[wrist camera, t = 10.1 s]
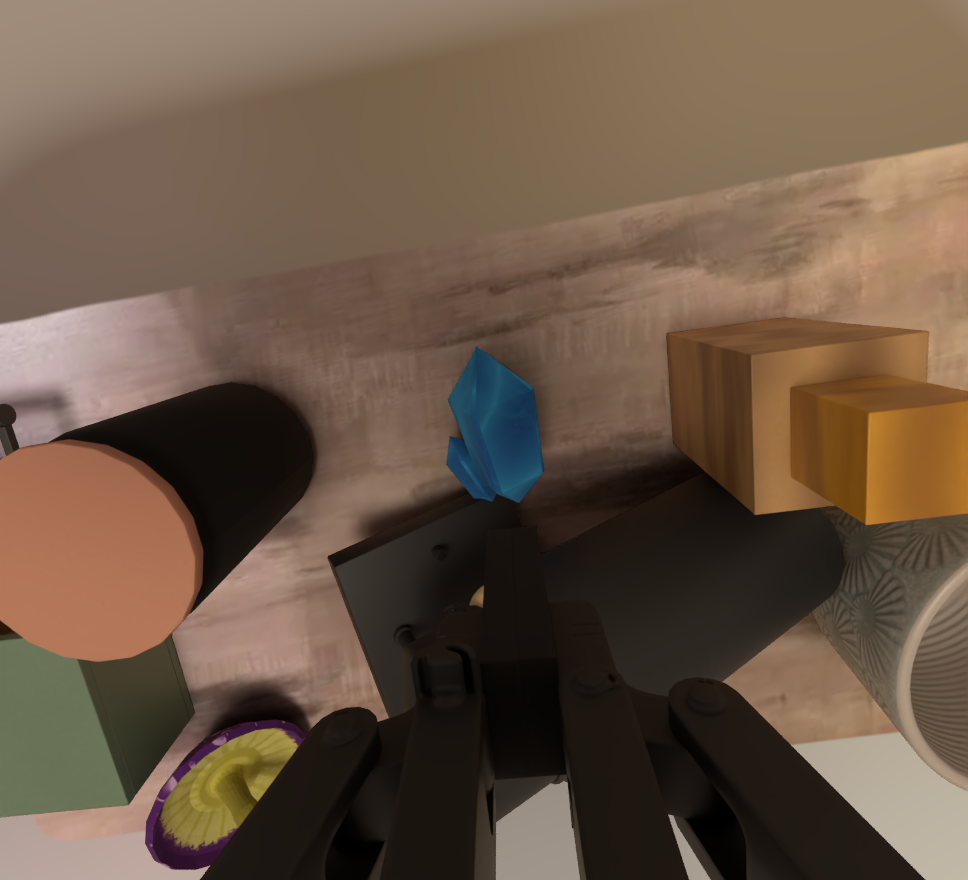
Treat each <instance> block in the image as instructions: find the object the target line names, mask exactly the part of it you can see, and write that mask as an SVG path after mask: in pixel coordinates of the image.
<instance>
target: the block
mask: <svg viewBox="0 0 968 880" xmlns="http://www.w3.org/2000/svg"><path fill="white" fill-rule="evenodd" d="M791 477H792V478H793V479H795V480H796V481H798V482H799V483H801V484H802V485H804V486H806V487H807V488H809V489H810V490H812V491H813V492H815V493H817V494H818V495H820V496H821V497H823V498H825V499H826V500H828V501H829V502H831V503H832V504H834V505H836V506H837V507H839V508H840V509H842V510H843V511H845V512H847V513H848V514H850V515H851V516H853V517H854V518H856V519H858V520H859V521H861V522H862V523H864V524H865V525H872V524H881V523H889V522H898V521H907V520H915V519H924V518H933V517H941V516H950V515H959V514H967V513H968V391H963V390H958V389H953V388H949V387H944V386H939V385H935V384H930V383H925V382H921V381H916V380H911V379H907V378H902V377H897V376H893V375H881V376H873V377H865V378H858V379H850V380H842V381H835V382H827V383H819V384H811V385H804V386H796V387H791Z"/></svg>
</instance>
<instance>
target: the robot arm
mask: <svg viewBox="0 0 968 880" xmlns="http://www.w3.org/2000/svg"><path fill="white" fill-rule="evenodd" d="M410 665H411V671H412V677H413V683H414V689H415V695H416V703H415V706H414V707H413V708H411V709H409V710H408V711H406V712H404V713H402V714H400V715H397V716H395V717H392V718H389V719H386V720H382V721H379V722H377V718H376V715H374V714H373V713H372V712H371V711H370V710H368V709H364V708H361V707H351V708H344V709H341V710H338V711H334V712H332V713H331V714H329V715H327V716H325V717H324V718H322V719H321V720H320V721H319V722H318V723H317V724H316V725H315V726H314V727H313V728H312V729H311V731H310V732H309V733H308V735H307V736H306V737H305V739H304V740H303V741H302V743H301V744H300V745H299V747H298V748H297V749H296V751H295V752H294V753H293V755H292V756H291V758H290V759H289V760H288V762H287V763H286V764H285V766H284V767H283V768H282V770H281V771H280V772H279V774H278V775H277V776H276V778H275V779H274V780H273V782H272V783H271V785H270V786H269V787H268V789H267V790H266V791H265V793H264V794H263V795H262V797H261V798H260V799H259V801H258V802H257V803H256V805H255V806H254V807H253V809H252V810H251V812H250V813H249V814H248V816H247V817H246V818H245V820H244V821H243V822H242V824H241V825H240V826H239V828H238V829H237V830H236V832H235V833H234V834H233V836H232V837H231V839H230V840H229V841H228V843H227V844H226V845H225V847H224V848H223V849H222V851H221V852H220V853H219V855H218V856H217V857H216V859H215V860H214V861H213V863H212V864H211V866H210V867H209V868H208V870H207V871H206V872H205V874H204V875H203V877H202V878H201V879H200V880H496V798H495V791H494V783H493V770H494V777H495V780H500V779H514V778H528V777H541V776H555V775H567V780H568V790H569V800H570V811H571V821H572V828H573V829H574V837H575V844H576V852H577V859H578V867H579V874H580V880H689V879H688V875H687V872H686V869H685V866H684V863H683V860H682V857H681V853H680V850H679V847H678V844H677V841H676V838H675V835H674V832H673V828H672V825H671V822H670V819H669V816H668V814H669V815H674V818H675V821H676V823H677V826H678V828H679V829H680V831H681V832H682V834H683V836H684V837H685V839H686V840H687V842H688V844H689V845H690V847H691V848H692V850H693V852H694V853H695V855H696V857H697V858H698V860H699V861H700V863H701V865H702V866H703V868H704V869H705V871H706V872H707V874H708V876H709V877H710V879H711V880H925V879H924V878H923V877H922V876H921V875H920V874H919V873H918V872H917V871H916V870H915V869H914V868H913V867H912V866H911V865H910V864H909V863H908V862H907V861H906V860H905V859H904V858H903V857H902V856H901V855H900V854H899V853H898V852H897V851H896V850H895V849H894V848H893V847H892V846H891V845H890V844H889V843H888V842H887V841H886V840H885V839H884V838H883V837H882V836H881V835H880V834H879V833H878V832H877V831H876V830H875V829H874V828H873V827H872V826H871V825H870V824H869V823H868V822H867V821H866V820H865V819H864V818H863V817H862V816H861V815H860V814H859V813H858V812H857V811H856V810H855V809H854V808H853V807H852V806H851V805H850V804H849V803H848V802H847V801H846V800H845V799H844V798H843V797H842V796H841V795H840V794H839V793H838V792H837V791H836V790H835V789H834V788H833V787H832V786H831V785H830V784H829V783H828V782H827V781H826V780H825V779H824V778H823V777H822V776H821V775H820V774H819V773H818V772H817V771H816V770H815V769H814V768H813V767H812V766H811V765H810V764H809V763H808V762H807V761H806V760H805V759H804V758H803V757H802V756H801V755H800V754H799V753H798V752H797V751H796V750H795V749H794V748H793V747H792V746H791V745H790V744H789V743H788V742H787V741H786V740H785V739H784V738H783V737H782V736H781V735H780V734H779V733H778V732H777V731H776V730H775V729H774V728H773V727H772V726H771V725H770V724H769V723H768V722H767V721H766V720H765V719H764V718H763V717H762V716H761V715H760V714H759V713H758V712H757V711H756V710H755V709H754V708H753V707H752V706H751V705H750V704H749V703H748V702H747V701H746V700H745V699H744V698H743V697H742V696H741V695H740V694H739V693H738V692H737V691H736V690H734V689H733V688H732V687H730V686H729V685H727V684H725V683H723V682H720V681H717V680H715V679H709V678H702V677H696V678H687V679H684V680H682V681H679V682H677V683H675V684H674V686H673V687H672V688H671V689H670V690H669V696H662V695H656V694H650V693H646V692H642V691H640V690H637V689H635V688H633V687H631V686H629V685H628V684H626V682H625V680H624V679H623V677H622V675H621V674H620V673H618V672H617V671H616V667H615V664H614V661H613V658H612V655H611V651H610V648H609V645H608V642H607V638H606V635H605V633H604V629H603V625H602V623H601V619H600V616H599V613H598V609H597V608H595V607H594V606H593V605H592V604H591V603H590V602H589V601H587V600H586V599H583V600H572V601H560V602H549V603H548V598H547V592H546V586H545V579H544V573H543V566H542V560H541V554H540V547H539V541H538V534H537V528H536V526H529V527H519V528H508V529H498V530H488V531H487V538H486V556H485V574H484V592H483V609H482V610H476V611H465V612H454V613H448V614H447V615H446V617H445V618H444V619H443V620H442V621H441V622H440V624H439V625H438V630H437V636H436V641H435V644H432V645H430V646H428V647H425V648H423V649H422V650H421V651H419V652H418V653H417V654H416V655H415V656H414V657H413V659H412V661H411V663H410Z"/></svg>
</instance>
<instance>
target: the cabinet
mask: <svg viewBox="0 0 968 880" xmlns="http://www.w3.org/2000/svg"><path fill="white" fill-rule="evenodd" d="M194 714H195V713H194V710H193V706H192V703H191V700H190V696H189V693H188V690H187V687H186V683H185V680H184V677H183V673H182V670H181V667H180V664H179V660H178V657H177V654H176V650H175V647H174V644H173V641H172V637H171V634H170V635H169V636H168V637H167V638H166V639H165V640H164V641H163V643H161V644H158V645H156V646H154V647H152V648H150V649H148V650H146V651H144V652H142V653H140V654H138V655H136V656H134V657H130V658H123V659H116V660H108V661H101V662H96V661H89V660H82V659H76V658H69V657H63V656H60V655H58V654H56V653H53V652H51V651H49V650H46V649H44V648H42V647H39V646H37V645H34V644H32V643H30V642H28V641H27V640H25V639H24V638H23V637H22V636H20V635H19V634H18V633H16V634H8V635H0V817H9V816H19V815H30V814H41V813H52V812H62V811H73V810H83V809H94V808H104V807H115V806H125V805H129V804H130V802H131V801H132V800H133V798H134V797H135V795H136V794H137V793H138V791H139V790H140V788H141V787H142V786H143V784H144V783H145V781H146V780H147V779H148V777H149V776H150V775H151V773H152V772H153V770H154V769H155V768H156V766H157V765H158V763H159V762H160V761H161V759H162V758H163V757H164V755H165V754H166V752H167V751H168V750H169V748H170V747H171V745H172V744H173V743H174V741H175V740H176V739H177V737H178V736H179V734H180V733H181V732H182V730H183V729H184V727H185V726H186V725H187V723H188V722H189V720H190V719H191V718H192V717H193V715H194Z"/></svg>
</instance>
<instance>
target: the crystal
mask: <svg viewBox="0 0 968 880" xmlns="http://www.w3.org/2000/svg"><path fill="white" fill-rule="evenodd" d="M448 402H449V404H450V407H451V409H452V412H453V414H454V417H455V419H456V421H457V424H458V426H459V429H460V431H461V434H462V436H463V439H464V440H461V439H457V438H454V437H450V438H449V447H448V455H447V464H446V465H447V466H448V467H449V468H450V470H451V471H452V472H453V473H454V475H455V476H456V477H457V478H458V479H459V481H460V482H461V483H462V484H463V486H464V487H465V488H466V489H467V490H468V492H469V493H470V494H471V495H472V497H473V498H475V499H486V500H489V501H493V500H494V498H495V495H496V494H499V495H501V496H504V497H506V498H508V499H511V500H513V501H515V502H518V503H519V502H520V501H521V500H522V499H523V497H524V496H525V495H526V494H527V492H528V491H529V490H530V489H531V487H532V486H533V485H534V484H535V482H536V481H537V480H538V479H539V477H540V476H541V475H542V473H543V472H544V465H543V457H542V449H541V442H540V434H539V426H538V419H537V411H536V403H535V396H534V388H533V387H532V386H531V385H529V384H528V383H527V382H525V381H524V380H523V379H521V378H520V377H518V376H517V375H516V374H514V373H513V372H512V371H510V370H509V369H507V368H506V367H505V366H503V365H502V364H501V363H499V362H498V361H496V360H495V359H494V358H492V357H491V356H490V355H488V354H487V353H485V352H484V351H483V350H481V349H480V348H478V347H476V349H475V351H474V352H473V354H472V356H471V358H470V360H469V362H468V363H467V365H466V367H465V369H464V371H463V372H462V374H461V376H460V378H459V380H458V382H457V383H456V385H455V387H454V389H453V391H452V392H451V394H450V396H449V398H448Z"/></svg>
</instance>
